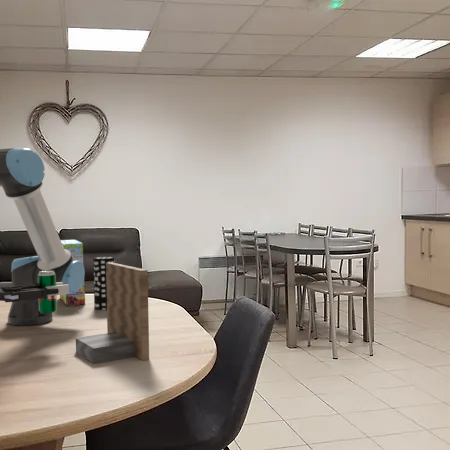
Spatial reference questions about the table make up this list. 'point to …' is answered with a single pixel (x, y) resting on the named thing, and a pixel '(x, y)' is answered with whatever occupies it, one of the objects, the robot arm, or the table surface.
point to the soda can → (45, 280)
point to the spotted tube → (100, 281)
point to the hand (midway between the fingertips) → (65, 287)
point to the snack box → (77, 254)
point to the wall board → (121, 318)
